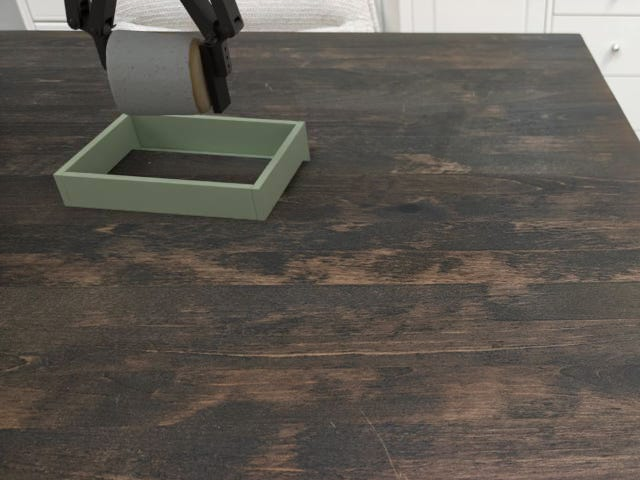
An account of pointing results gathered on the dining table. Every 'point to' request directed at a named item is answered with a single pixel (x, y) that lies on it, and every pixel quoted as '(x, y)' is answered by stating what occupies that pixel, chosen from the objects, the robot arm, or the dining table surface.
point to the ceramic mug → (156, 74)
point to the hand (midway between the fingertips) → (177, 105)
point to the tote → (187, 137)
